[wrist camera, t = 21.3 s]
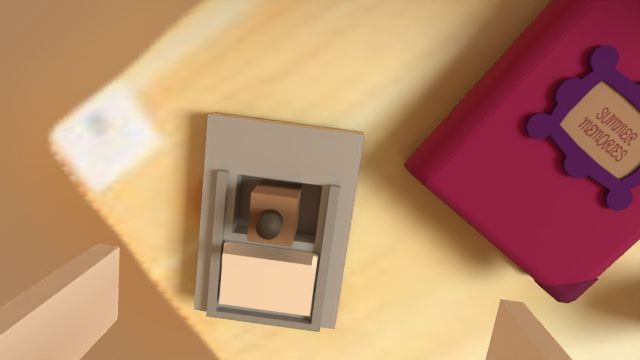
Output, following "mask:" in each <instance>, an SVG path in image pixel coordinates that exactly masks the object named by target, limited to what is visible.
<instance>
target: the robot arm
mask: <svg viewBox="0 0 640 360" xmlns="http://www.w3.org/2000/svg"><path fill="white" fill-rule="evenodd" d="M118 282H119V247H116V246H108V245H101V244H96V245H95V246H94V247H92V248H90V249H89V250H87V251H86V252H84V253H83V254H81V255H80V256H79V257H77V258H75V259H74V260H72V261H71V262H69V263H68V264H66V265H65V266H63V267H62V268H60V269H59V270H57V271H56V272H54V273H53V274H51V275H50V276H48V277H47V278H45V279H44V280H42V281H41V282H39V283H38V284H36V285H35V286H33V287H32V288H30V289H28V290H27V291H25V292H24V293H22V294H21V295H19V296H18V297H16V298H15V299H13V300H12V301H10V302H9V303H7V304H6V305H4V306H3V307H1V308H0V360H79V359H80V358H81V357H82V356H83V355H84V354H85V353H86V352H87V351H88V350H89V349H90V348H91V347H92V346H93V345H94V343H95V342H96V341H97V340H98V339H99V338H100V337H101V336H102V335H103V334H104V333H105V332H106V331H107V330H108V328H109V327H110V326H111V325H112V324H113V323H114V322H115V321H116V320H117V317H118ZM486 360H572V359H571V358H570V357H569V355H568V354H567V353H566V352H565V351H564V350H563V348H562V347H561V346H560V345H559V344H558V343H557V341H556V340H555V339H554V338H553V337H552V336H551V334H550V333H549V332H548V331H547V330H546V329H545V327H544V326H543V325H542V324H541V323H540V322H539V320H538V319H537V318H536V317H535V316H534V315H533V313H532V312H531V311H530V310H529V309H528V308H527V306H526V305H525V304H524V303H523V302H517V301H509V300H502V299H501V300H500V304H499V308H498V312H497V316H496V320H495V324H494V328H493V332H492V336H491V340H490V344H489V348H488V353H487V357H486Z"/></svg>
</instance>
